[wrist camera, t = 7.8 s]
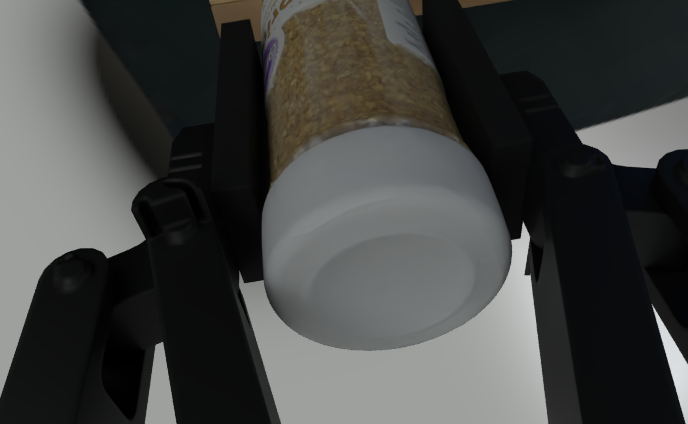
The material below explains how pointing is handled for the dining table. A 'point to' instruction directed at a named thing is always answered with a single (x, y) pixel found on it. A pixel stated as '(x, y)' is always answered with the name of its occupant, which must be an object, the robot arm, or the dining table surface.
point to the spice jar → (370, 181)
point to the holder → (246, 3)
